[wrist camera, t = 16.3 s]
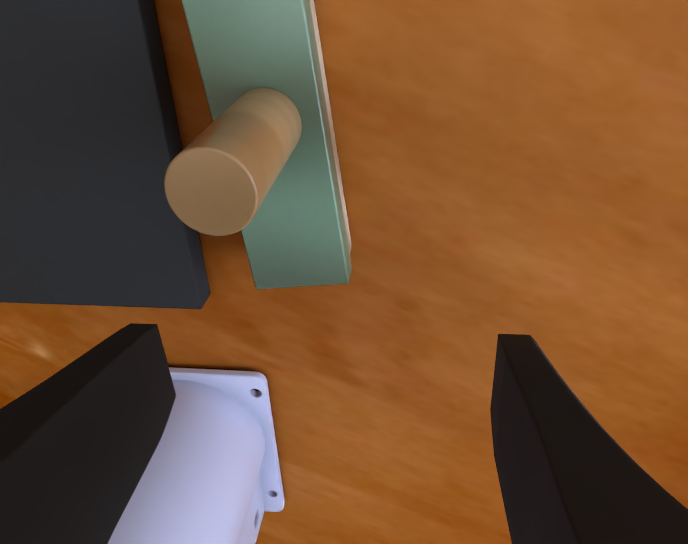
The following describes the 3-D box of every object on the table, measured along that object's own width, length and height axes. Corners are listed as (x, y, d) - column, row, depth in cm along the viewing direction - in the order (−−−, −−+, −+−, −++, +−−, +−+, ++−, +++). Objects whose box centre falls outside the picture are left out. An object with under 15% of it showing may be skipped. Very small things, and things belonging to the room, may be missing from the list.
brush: (356, 250, 22) (326, 391, 16) (271, 256, 23) (206, 394, 16) (302, -113, 17) (216, -142, 10) (189, -92, 17) (33, -105, 10)
